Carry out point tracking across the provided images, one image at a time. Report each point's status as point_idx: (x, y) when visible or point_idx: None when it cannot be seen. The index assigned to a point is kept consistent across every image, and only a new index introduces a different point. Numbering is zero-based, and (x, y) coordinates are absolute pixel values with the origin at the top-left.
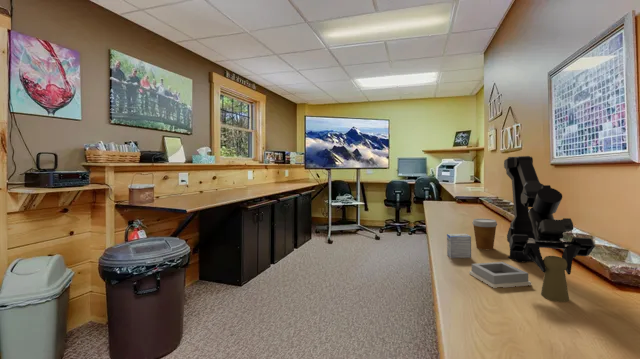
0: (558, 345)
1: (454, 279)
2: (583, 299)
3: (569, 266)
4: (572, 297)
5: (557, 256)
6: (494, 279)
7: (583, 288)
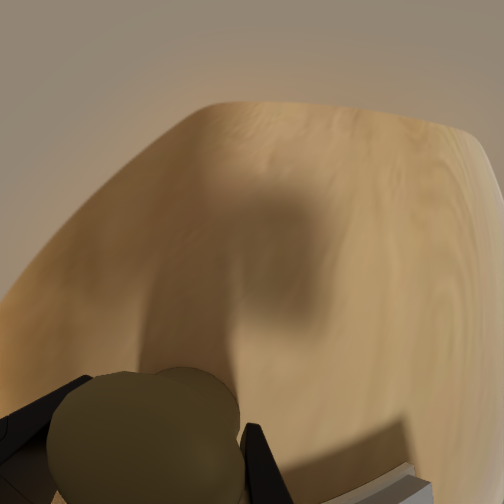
0: (340, 122)
1: (481, 486)
2: None
3: (58, 400)
4: None
5: (85, 500)
6: (418, 480)
7: None
